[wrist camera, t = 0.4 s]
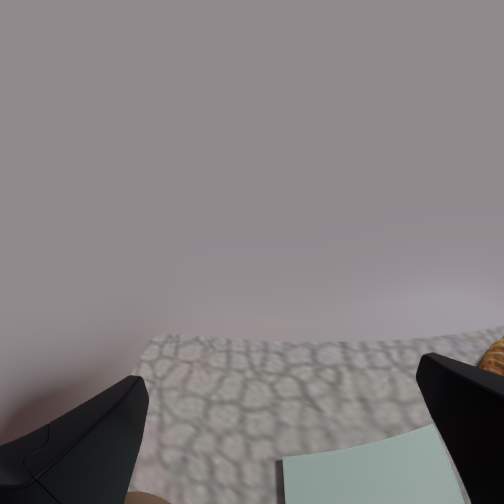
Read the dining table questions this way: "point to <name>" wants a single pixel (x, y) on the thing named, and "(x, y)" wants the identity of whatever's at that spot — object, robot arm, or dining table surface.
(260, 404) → the dining table surface
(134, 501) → the brown rounded cylinder
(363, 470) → the card
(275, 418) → the dining table surface
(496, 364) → the pastry
